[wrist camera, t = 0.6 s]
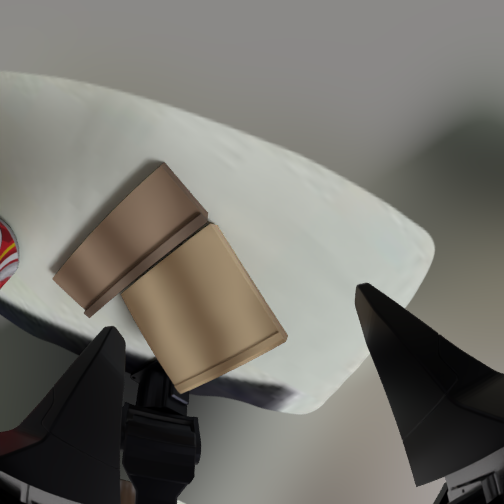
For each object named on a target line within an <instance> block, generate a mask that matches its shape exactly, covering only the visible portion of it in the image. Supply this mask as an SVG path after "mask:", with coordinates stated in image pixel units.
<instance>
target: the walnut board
mask: <svg viewBox="0 0 504 504" xmlns="http://www.w3.org/2000/svg"><path fill="white" fill-rule="evenodd" d="M207 219H208V212H207V211H206V210H205V209H204V208H203V207H202V205H201V204H200V203H199V202H198V201H197V200H196V198H195V197H194V196H193V195H192V194H191V193H190V191H189V190H188V189H187V188H186V187H185V186H184V184H183V183H182V182H181V181H180V180H179V179H178V177H177V176H176V175H175V174H174V173H173V172H172V170H171V169H170V168H169V167H168V166H167V165H166V163H165V162H164V163H163V164H162V165H161V166H159V167H158V168H157V169H156V170H155V171H154V172H153V173H151V174H150V175H149V176H148V177H147V178H146V179H145V180H144V181H143V182H142V183H140V184H139V185H138V186H137V187H136V188H135V189H134V190H133V191H132V192H131V193H130V194H129V195H128V196H127V197H126V198H125V199H124V200H123V201H122V202H121V203H120V204H118V205H117V206H116V207H115V208H114V209H113V210H112V212H111V213H110V214H109V215H108V216H107V217H106V218H105V219H104V220H103V221H102V222H101V223H100V224H99V225H98V226H97V227H96V228H95V229H94V230H93V231H92V233H91V234H90V235H89V236H88V237H87V238H86V239H85V240H84V241H83V242H82V244H81V245H80V246H79V247H78V248H77V249H76V250H75V252H74V253H73V254H72V255H71V256H70V257H69V259H68V260H67V261H66V262H65V263H64V265H63V266H62V267H61V268H60V270H59V271H58V272H57V273H56V275H55V276H54V277H53V280H54V281H55V282H56V283H57V284H58V285H59V286H60V287H61V288H62V289H63V290H64V291H65V292H66V293H67V294H68V295H69V296H70V297H72V298H73V299H74V300H75V301H76V302H77V303H78V304H79V305H80V306H81V307H83V308H84V309H85V312H84V314H85V315H86V316H88V317H89V318H90V317H91V316H93V315H94V314H95V313H96V312H97V311H98V310H99V309H101V308H102V307H103V306H104V305H105V304H106V303H107V302H109V301H110V300H111V299H112V298H113V297H114V296H116V295H117V294H118V293H119V292H120V291H122V290H123V289H124V288H125V287H126V286H127V285H129V284H130V283H131V282H132V281H133V280H135V279H136V278H137V277H138V276H140V275H141V274H142V273H143V272H144V271H146V270H147V269H148V268H149V267H151V266H152V265H153V264H154V263H156V262H157V261H158V260H159V259H160V258H162V257H163V256H164V255H166V254H167V253H168V252H169V251H171V250H172V249H173V248H174V247H176V246H177V245H178V244H179V243H181V242H182V241H183V240H185V239H186V238H187V237H188V236H190V235H191V234H192V233H194V232H195V231H196V230H198V229H199V228H200V227H202V226H203V225H204V224H206V223H207Z"/></svg>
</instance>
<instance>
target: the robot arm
mask: <svg viewBox="0 0 504 504" xmlns="http://www.w3.org/2000/svg"><path fill="white" fill-rule="evenodd" d="M355 307H356V311H357V314H358V317H359V321H360V324H361V327H362V331H363V334H364V338H365V341H366V344H367V347H368V349H369V352H370V354H371V357H372V359H373V361H374V364H375V367H376V369H377V371H378V374H379V377H380V379H381V382H382V384H383V387H384V390H385V392H386V395H387V398H388V400H389V403H390V406H391V408H392V411H393V414H394V417H395V420H396V422H397V426H398V429H399V432H400V435H401V438H402V440H403V444H404V447H405V450H406V454H407V457H408V460H409V463H410V466H411V470H412V473H413V477H414V481H415V484H416V487H418V486H421V485H424V484H426V483H429V482H432V481H435V480H437V479H439V478H442V477H445V479H446V483H444V485H443V487H442V490H441V491H440V493H439V494H438V496H437V498H436V500H435V502H434V503H433V504H504V374H503V373H499V372H497V371H495V370H493V369H491V368H490V367H488V366H486V365H485V364H483V363H482V362H480V361H478V360H477V359H475V358H474V357H472V356H470V355H469V354H467V353H466V352H464V351H462V350H461V349H459V348H458V347H456V346H455V345H454V344H452V343H451V342H449V341H448V340H447V339H445V338H444V337H443V336H441V335H439V334H438V333H437V332H436V331H435V330H433V329H432V328H431V327H429V326H428V325H427V324H425V323H424V322H423V321H421V320H420V319H418V318H417V317H416V316H414V315H413V314H411V313H410V312H409V311H407V310H406V309H405V308H403V307H402V306H400V305H399V304H398V303H396V302H395V301H393V300H392V299H391V298H389V297H388V296H386V295H385V294H384V293H382V292H381V291H379V290H378V289H376V288H375V287H374V286H372V285H371V284H369V283H363V284H358V285H357V286H356V293H355ZM125 348H126V344H125V340H124V338H123V337H122V335H121V334H120V333H119V331H118V330H117V329H116V327H114V326H108V327H104V328H103V329H102V331H101V332H100V333H99V334H98V335H97V336H96V337H95V338H94V339H93V341H92V342H91V343H90V344H89V345H88V346H87V347H86V349H85V350H84V351H83V352H82V353H81V354H80V355H79V357H78V358H77V359H76V360H75V361H74V363H73V364H72V365H71V366H70V367H69V369H68V370H67V371H66V372H65V373H64V374H63V376H62V377H61V378H60V379H59V380H58V381H57V383H56V384H55V385H54V387H53V388H52V389H51V390H50V391H49V392H48V394H47V395H46V396H45V397H44V398H43V400H42V401H41V402H40V403H39V404H38V405H37V406H36V407H35V409H34V410H33V411H32V412H31V413H30V414H29V415H28V416H27V417H26V418H25V419H24V420H23V422H22V423H21V424H20V425H19V426H17V427H16V428H14V429H12V430H9V431H5V432H0V504H121V496H120V470H119V469H120V451H123V458H122V464H123V467H124V469H125V471H126V473H127V475H128V477H129V479H130V481H131V483H132V485H133V487H134V489H135V504H177V497H178V496H179V495H180V493H181V492H182V491H183V489H184V488H185V487H186V486H187V485H188V484H190V482H191V481H192V480H193V478H194V469H195V465H197V464H198V463H199V460H200V455H201V439H200V432H199V424H198V418H197V417H188V416H187V405H188V404H189V391H187V392H184V393H182V394H180V393H179V392H178V391H177V389H176V388H175V387H174V386H175V385H174V384H173V382H172V381H171V379H170V378H169V376H168V375H167V373H166V372H165V370H164V369H163V367H162V366H161V364H160V363H159V361H158V359H157V360H155V361H153V362H152V363H150V364H148V365H146V366H144V367H142V368H141V369H139V370H137V371H135V372H133V373H131V376H130V377H131V379H133V380H134V381H136V382H137V383H139V387H138V393H137V398H136V405H132V404H129V403H127V402H125V404H124V406H123V407H122V402H123V392H124V381H125Z"/></svg>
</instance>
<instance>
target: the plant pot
mask: <svg viewBox="0 0 504 504" xmlns="http://www.w3.org/2000/svg"><path fill="white" fill-rule="evenodd" d="M120 496H121V504H135V489H134V487H133V485H132V483H131V482H130V481H126V480H122V479H120Z"/></svg>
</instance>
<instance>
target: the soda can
mask: <svg viewBox="0 0 504 504" xmlns="http://www.w3.org/2000/svg"><path fill="white" fill-rule="evenodd" d="M18 265H19V247H18V242H17V240H16V237H15V235H14V233H13V231H12V230H11V228H10V227H9V226H8V225H7V224H6V223H5V222H4V221H2V220H1V219H0V289H1V288H2V286H3V285H4V284H5V283H6V282H7V281H8V280H9V279H10V277H11V276H12V275H13V274H14V273H15V272H16V270H17V268H18Z"/></svg>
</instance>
